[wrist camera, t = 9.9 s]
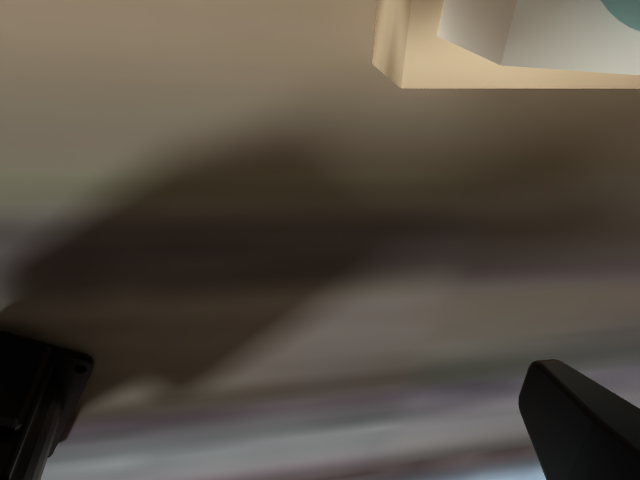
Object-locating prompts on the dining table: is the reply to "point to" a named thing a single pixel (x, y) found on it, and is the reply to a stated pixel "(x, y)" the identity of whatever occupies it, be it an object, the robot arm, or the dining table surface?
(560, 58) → the white upper slab
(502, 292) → the dining table surface
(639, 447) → the robot arm
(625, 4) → the seafoam tapered dome
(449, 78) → the oak base slab
